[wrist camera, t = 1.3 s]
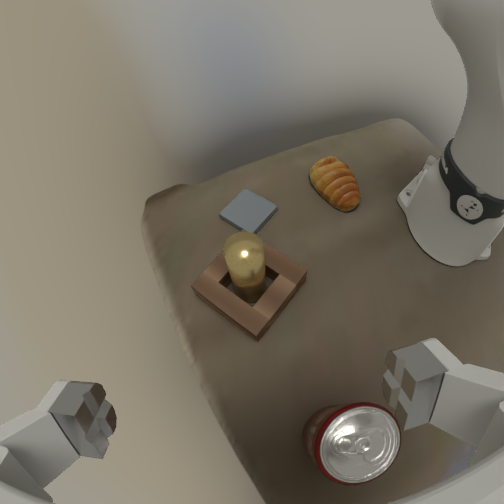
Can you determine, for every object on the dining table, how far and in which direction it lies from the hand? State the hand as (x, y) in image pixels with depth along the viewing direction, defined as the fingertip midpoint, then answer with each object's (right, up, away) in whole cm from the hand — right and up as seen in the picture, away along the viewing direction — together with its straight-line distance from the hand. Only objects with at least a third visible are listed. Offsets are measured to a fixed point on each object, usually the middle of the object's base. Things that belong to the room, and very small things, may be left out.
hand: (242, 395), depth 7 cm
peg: (0, -1, +31) cm, 31 cm away
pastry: (+13, +14, +39) cm, 44 cm away
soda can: (+9, -17, +21) cm, 29 cm away
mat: (0, +9, +37) cm, 38 cm away
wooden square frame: (0, -1, +31) cm, 31 cm away
